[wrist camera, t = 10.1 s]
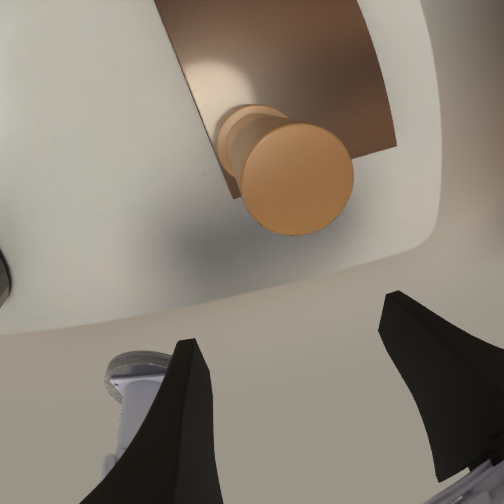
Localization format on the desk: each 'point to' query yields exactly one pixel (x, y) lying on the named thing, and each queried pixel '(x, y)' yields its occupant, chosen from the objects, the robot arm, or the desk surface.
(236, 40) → the walnut board
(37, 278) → the desk surface
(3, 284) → the mortar
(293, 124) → the pestle
